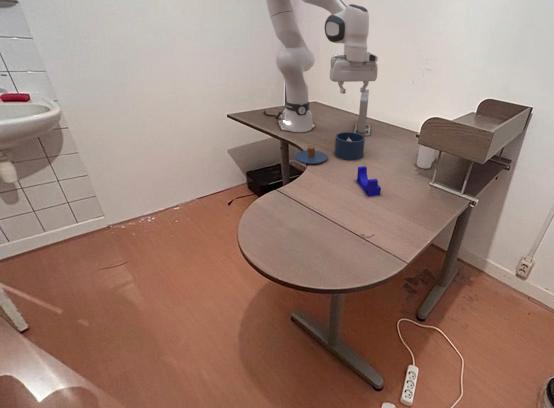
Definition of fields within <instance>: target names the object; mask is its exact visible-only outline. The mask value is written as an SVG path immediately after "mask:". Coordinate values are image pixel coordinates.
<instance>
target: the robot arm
mask: <svg viewBox="0 0 554 408" xmlns="http://www.w3.org/2000/svg"><path fill="white" fill-rule="evenodd" d="M265 1H266V7H267V11H268V15H269V18H270V21H271V24H272V27H273V30H274V33H275V36H276V38H277V39H278V41H280V42H281V44H282V45H283V47H284V49H282V50H280V51H279V52H278V53H277V54H276V57H275V65H276V67H277V69H278V70H279V72H280V73H281V74H282V77H283V81H284V85H285V93H286V94H285V95H286V96H285V97H286V101H285V105H284V106H285V109H284V110H281V111H278V113H277V114H270V113H269V114H268V113H266V112H267V111H266V110H264V111H263V114H264V115H265V116H268V117H275V118H276V119H277V120H278V119H279V120H278V121H277V122H278V125H279V128H280V130H281V131H286V132H291V133H306V132H310V131H312V130H313V129H314V128H315V127H316V126H315V124H313V112H312V111H310V101H309V85H308V84H307V83H306V79H305V76H304V73H305V72H307V71H310V70H311V69H312V68H313V67H314V65H315V61H316V58H315V55H314V53H313V52H312V51H311V50H310V49H309V47H308V45H307V43H306V41H305V39H304V37H303V36H302V33H301V30H300V28H299V26H298V22H297V18H296V15H295V12H294V8H293V5H292V3H291V2H292V1H291V0H265ZM301 1H302V2H304V3H306V4H308V5H313V6H316V7H319V8H321V9H324V10H326V12H329V13H330V15H329V16H327V18H326V20H325V22H324V34H325V36H326V39H327V40H328V41H329V42H330V43H333V44H342V45H343V44H344V45H343V54H339V55H338V54H334V55H333V56H332V57H331V58H330V68H329V79H330V81H332V82H334V83H337V85H338V87H339V89H340V90H339V92H340V94H342V95H344V94H346V91H347V90H346V88H345V87H344V86H343V85H344V84H345V83H347V82H348V83H351V82H352V83H353V82H355V83H356V82H362V83H363V84H362V87H360V89H359V91H360V93H365V90H366V89H367V88H368V86H369V82H376V80H377V78H378V68H379V67H378V63H377V62H378V56H377V55H376V54H373V53H371V52H370V51H368V37H369V32H370V14H369V11H368V9H367V8H366V7H364V6H361V5H357V4H352V3H350V4H348V5H346V4H345V3H344V1H342V0H301Z"/></svg>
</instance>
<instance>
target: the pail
mask: <svg viewBox="0 0 554 408" xmlns="http://www.w3.org/2000/svg"><path fill="white" fill-rule="evenodd" d="M361 134H362V133H360V134H358V132H356V133H354V131H352V132H351V131H344V132H338V133H336V134H335V137H334V155H335V157H337V158H338V159H339V160H344V161H358V160H361V159H363V157H364V152H365V143H366V142H365V141H366V138H365V136H363V135H361ZM348 137H349V138H350V139H351V140H352V141H346V140H347V139H348Z"/></svg>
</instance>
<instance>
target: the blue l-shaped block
mask: <svg viewBox="0 0 554 408" xmlns="http://www.w3.org/2000/svg"><path fill="white" fill-rule="evenodd" d="M356 174H357V176H356V182H357V183H358V185H359V186H360V187H361V188H362V190H363V192H364V193H365V194H366V196H367V197H377V196H381V191H382V187H381V186H380V184H378V183H379V180H378V179H377V178H370V179H369V178H368V167H367V166H366V165H365V166H364V165H363V166H357V173H356Z"/></svg>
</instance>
